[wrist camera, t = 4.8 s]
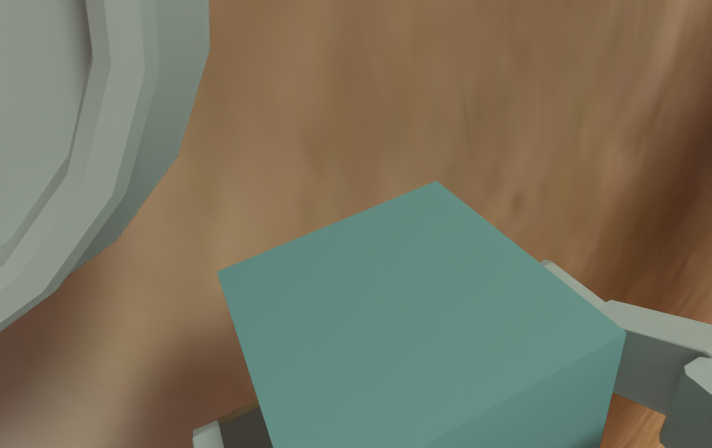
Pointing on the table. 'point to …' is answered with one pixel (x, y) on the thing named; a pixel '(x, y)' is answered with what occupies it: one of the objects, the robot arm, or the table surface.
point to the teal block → (420, 336)
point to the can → (86, 127)
